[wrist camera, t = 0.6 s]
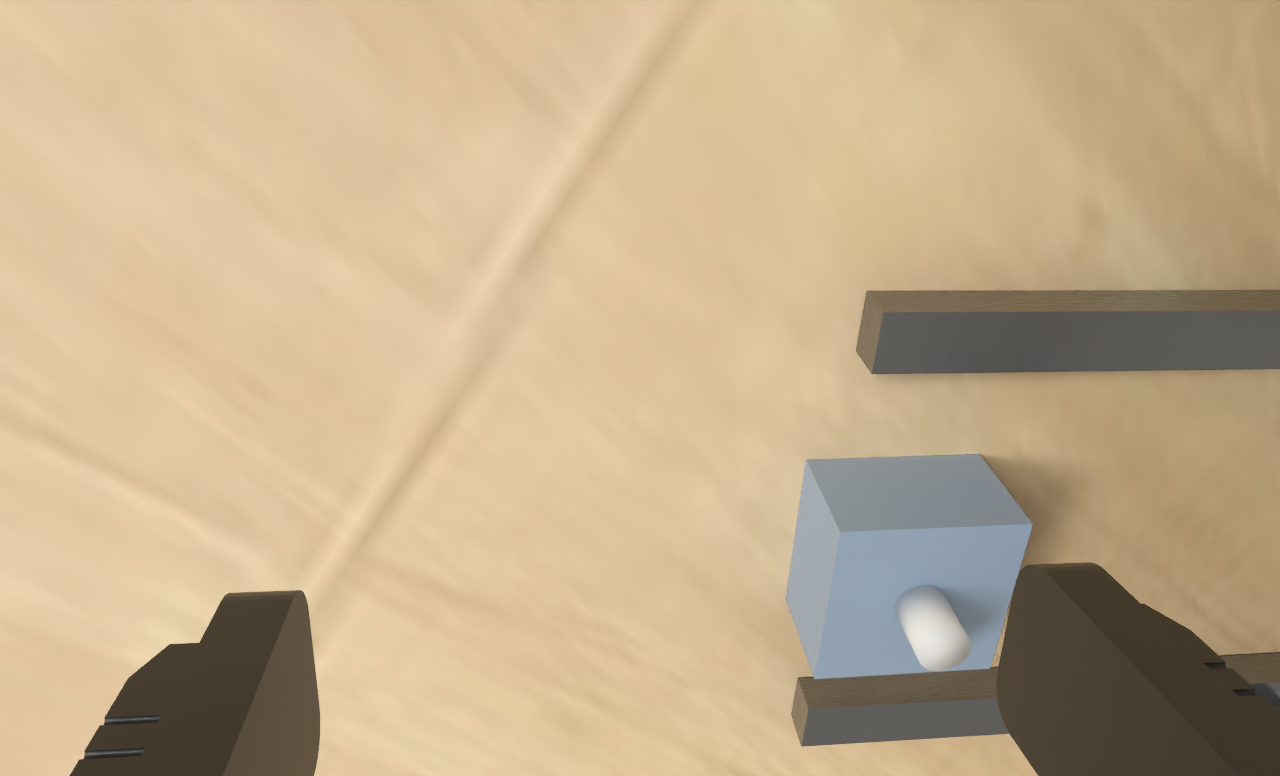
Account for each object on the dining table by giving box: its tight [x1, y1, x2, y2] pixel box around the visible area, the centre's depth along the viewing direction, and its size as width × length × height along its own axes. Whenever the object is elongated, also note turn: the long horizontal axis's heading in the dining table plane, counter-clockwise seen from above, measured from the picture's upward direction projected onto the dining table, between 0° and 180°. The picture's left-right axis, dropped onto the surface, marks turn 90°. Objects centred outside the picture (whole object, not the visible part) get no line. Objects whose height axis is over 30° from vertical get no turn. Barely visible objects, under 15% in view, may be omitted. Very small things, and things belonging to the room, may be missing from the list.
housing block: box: [786, 454, 1033, 679], centre depth 30 cm, size 6×6×6 cm
